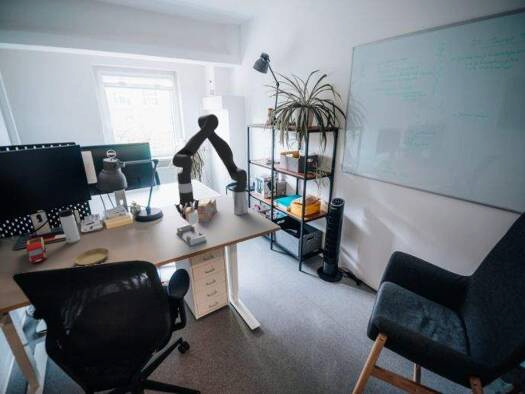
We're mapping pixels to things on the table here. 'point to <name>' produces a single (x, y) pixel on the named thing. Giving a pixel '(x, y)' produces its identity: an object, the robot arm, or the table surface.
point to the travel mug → (69, 226)
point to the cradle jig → (190, 235)
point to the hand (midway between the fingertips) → (188, 217)
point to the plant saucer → (92, 256)
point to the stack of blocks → (206, 209)
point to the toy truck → (36, 250)
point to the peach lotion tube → (190, 215)
